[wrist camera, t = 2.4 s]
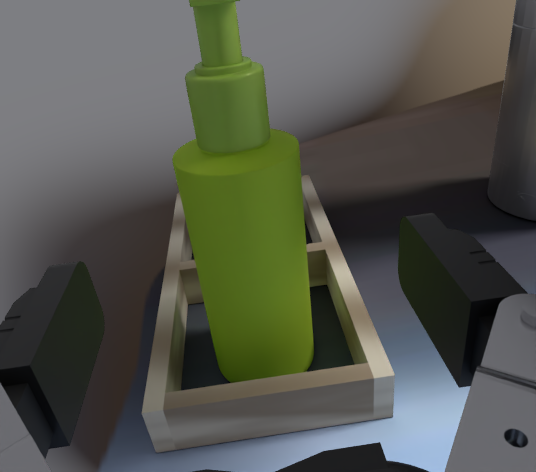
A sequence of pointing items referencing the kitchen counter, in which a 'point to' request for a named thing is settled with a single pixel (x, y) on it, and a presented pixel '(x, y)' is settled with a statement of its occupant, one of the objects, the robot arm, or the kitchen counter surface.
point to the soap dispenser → (244, 210)
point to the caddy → (273, 388)
